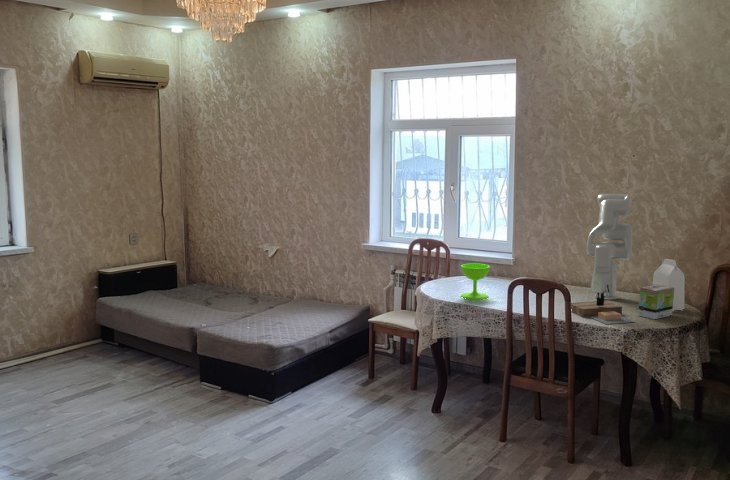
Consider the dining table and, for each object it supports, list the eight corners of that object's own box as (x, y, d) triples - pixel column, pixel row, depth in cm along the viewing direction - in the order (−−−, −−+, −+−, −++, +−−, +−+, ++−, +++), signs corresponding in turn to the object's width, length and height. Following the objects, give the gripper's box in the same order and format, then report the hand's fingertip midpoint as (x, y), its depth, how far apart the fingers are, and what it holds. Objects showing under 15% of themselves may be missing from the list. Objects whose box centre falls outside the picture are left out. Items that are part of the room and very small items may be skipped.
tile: (605, 315, 325) (604, 320, 326) (621, 314, 327) (621, 319, 328) (598, 312, 331) (597, 317, 332) (614, 311, 333) (614, 316, 334)
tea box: (656, 320, 328) (658, 290, 326) (637, 316, 336) (639, 287, 334) (672, 315, 337) (674, 286, 334) (654, 311, 345) (655, 283, 342)
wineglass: (493, 296, 379) (494, 265, 377) (482, 301, 366) (483, 269, 364) (467, 293, 388) (467, 262, 385) (455, 298, 374) (456, 266, 372)
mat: (589, 317, 333) (589, 316, 333) (617, 315, 337) (617, 314, 337) (605, 324, 320) (605, 323, 319) (635, 322, 323) (635, 321, 323)
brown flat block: (568, 310, 347) (568, 303, 346) (605, 308, 352) (606, 300, 351) (582, 317, 333) (583, 309, 333) (621, 314, 338) (622, 306, 338)
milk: (649, 306, 355) (652, 258, 351) (666, 305, 359) (669, 257, 355) (667, 311, 344) (670, 262, 340) (684, 310, 348) (687, 260, 344)
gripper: (586, 267, 341) (585, 302, 344) (604, 272, 327) (602, 309, 330) (599, 266, 343) (598, 301, 346) (617, 272, 329) (615, 308, 331)
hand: (600, 305), depth 338 cm, fingers closed
